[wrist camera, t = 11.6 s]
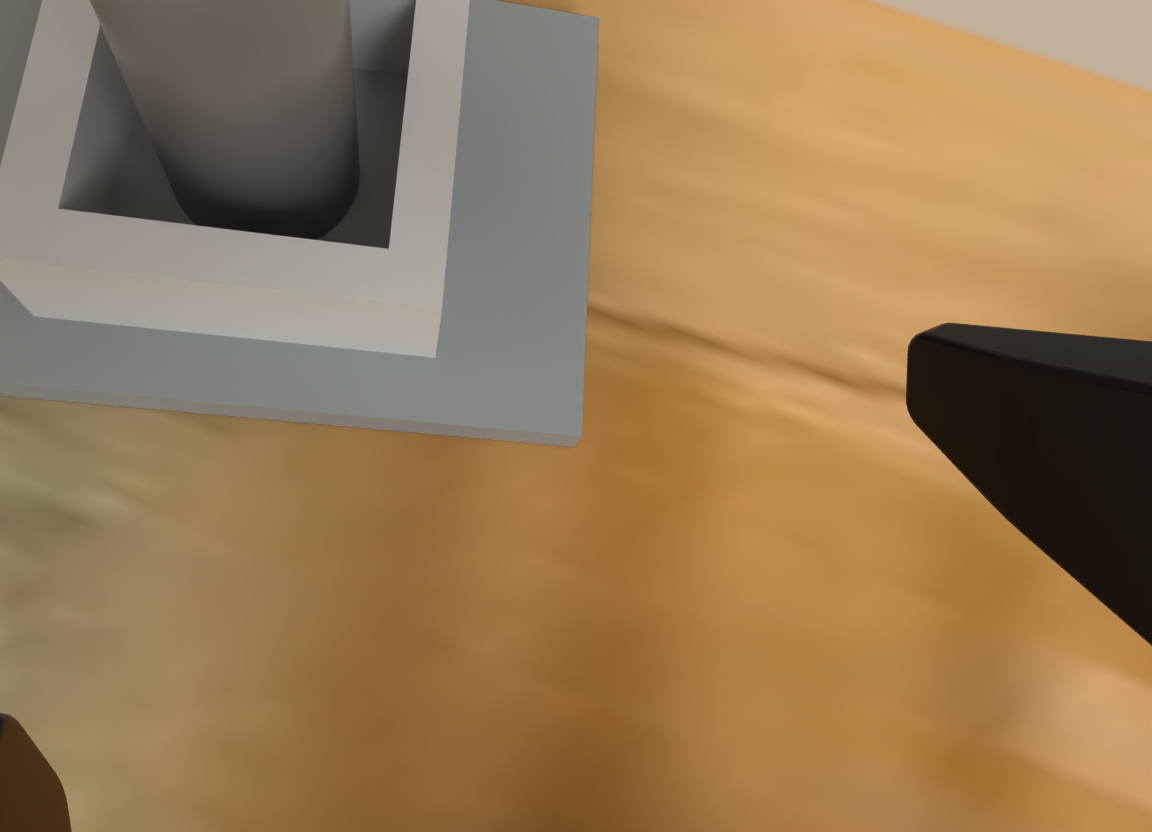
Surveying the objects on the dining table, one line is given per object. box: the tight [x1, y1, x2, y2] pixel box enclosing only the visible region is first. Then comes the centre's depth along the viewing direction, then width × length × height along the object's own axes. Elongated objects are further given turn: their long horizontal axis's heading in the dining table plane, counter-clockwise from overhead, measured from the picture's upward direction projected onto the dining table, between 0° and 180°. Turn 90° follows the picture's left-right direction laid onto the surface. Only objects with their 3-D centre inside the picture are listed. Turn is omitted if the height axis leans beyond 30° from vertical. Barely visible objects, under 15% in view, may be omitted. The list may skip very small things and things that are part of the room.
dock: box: [0, 0, 599, 447], centre depth 22 cm, size 12×16×4 cm
